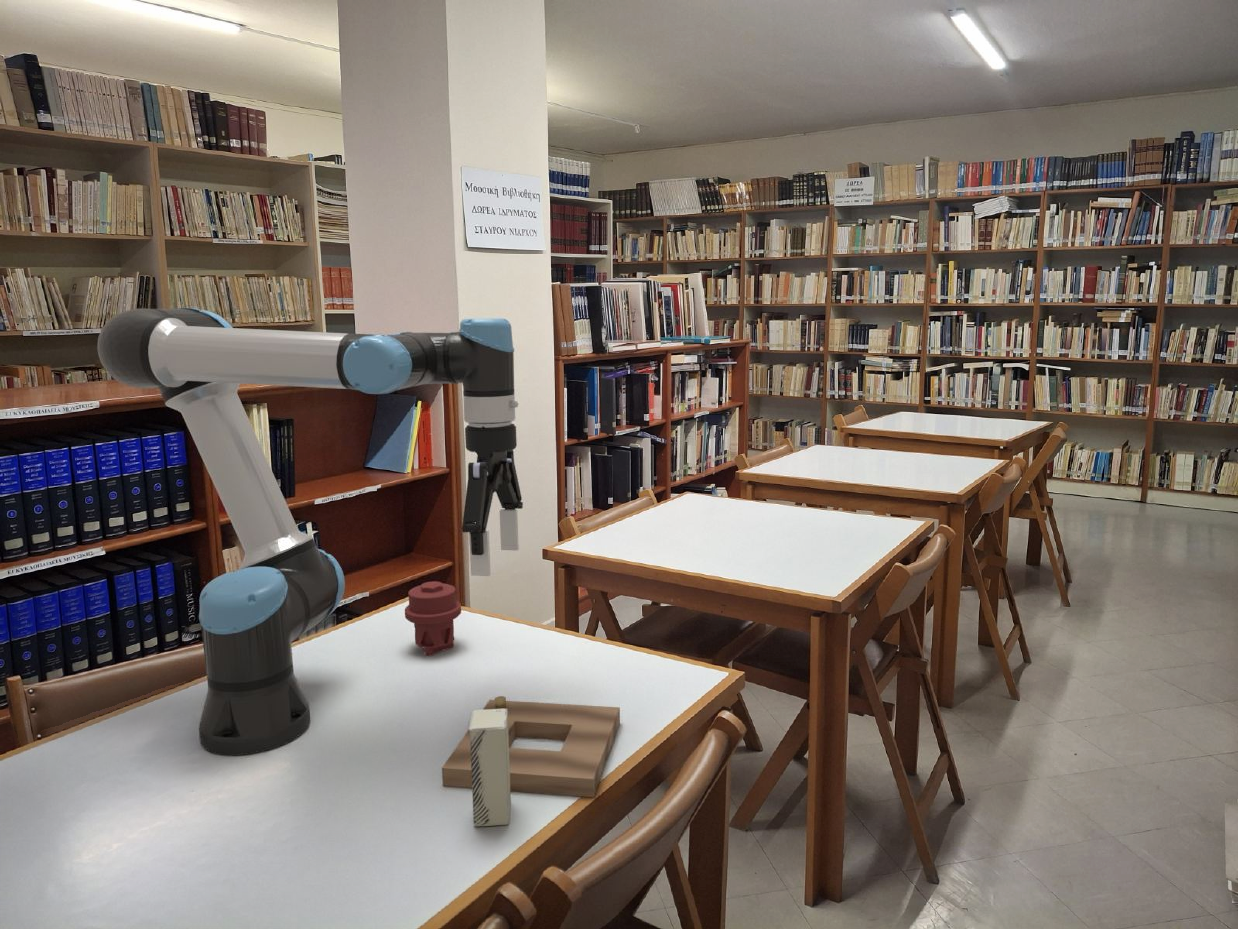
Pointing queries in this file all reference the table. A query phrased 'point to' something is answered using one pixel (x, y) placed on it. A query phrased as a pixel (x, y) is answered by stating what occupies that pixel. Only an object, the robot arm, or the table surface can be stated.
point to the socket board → (545, 769)
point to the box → (490, 767)
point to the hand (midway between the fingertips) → (496, 562)
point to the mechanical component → (433, 615)
